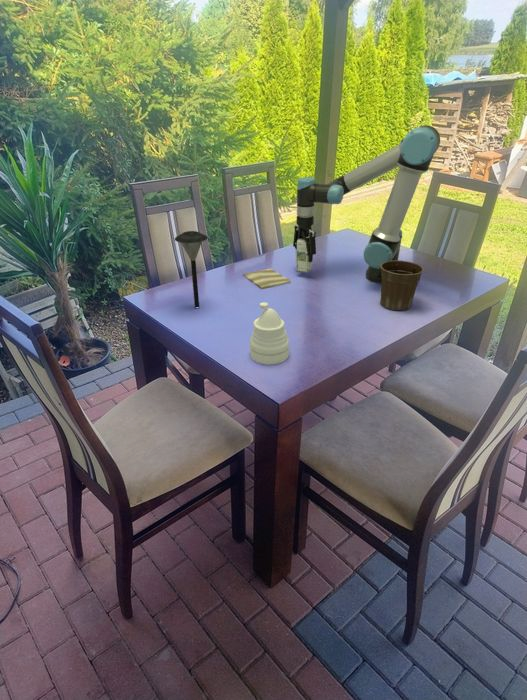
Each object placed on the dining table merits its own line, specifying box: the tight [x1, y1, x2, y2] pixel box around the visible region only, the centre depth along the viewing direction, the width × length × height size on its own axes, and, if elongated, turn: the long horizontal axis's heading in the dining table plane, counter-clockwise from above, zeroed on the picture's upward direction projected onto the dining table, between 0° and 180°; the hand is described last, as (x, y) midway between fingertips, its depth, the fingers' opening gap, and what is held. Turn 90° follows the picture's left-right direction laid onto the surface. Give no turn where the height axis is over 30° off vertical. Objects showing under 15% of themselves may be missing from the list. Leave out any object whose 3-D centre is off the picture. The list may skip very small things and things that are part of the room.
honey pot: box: [249, 301, 290, 366], centre depth 143 cm, size 13×13×18 cm
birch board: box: [242, 268, 291, 290], centre depth 204 cm, size 18×15×1 cm
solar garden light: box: [174, 230, 209, 308], centre depth 170 cm, size 12×12×30 cm
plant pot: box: [379, 259, 424, 312], centre depth 177 cm, size 16×16×16 cm
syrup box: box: [295, 238, 312, 273], centre depth 203 cm, size 6×6×14 cm
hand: (303, 265), depth 205 cm, fingers closed on syrup box, 8 cm apart
